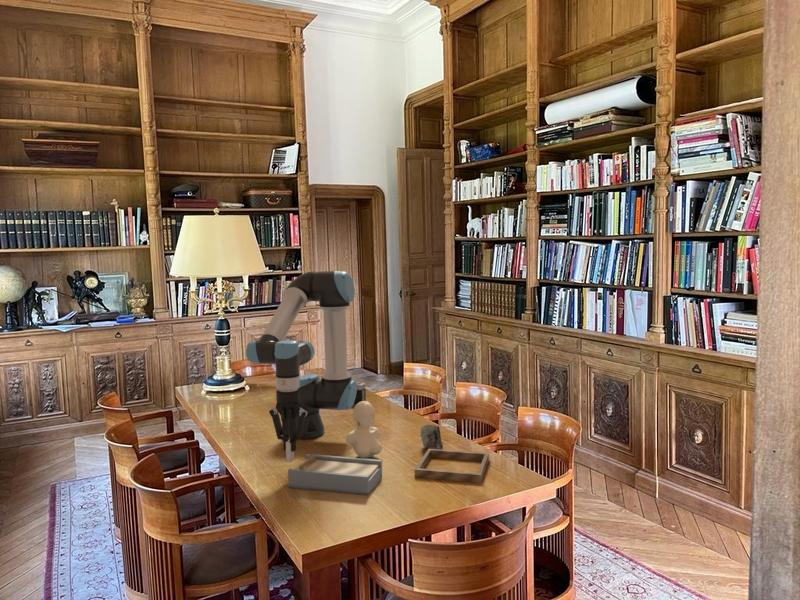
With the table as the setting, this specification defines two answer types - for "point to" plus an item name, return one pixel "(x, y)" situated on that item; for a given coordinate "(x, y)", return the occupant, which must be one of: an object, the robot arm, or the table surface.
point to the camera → (360, 393)
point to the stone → (431, 437)
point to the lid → (338, 467)
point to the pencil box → (335, 477)
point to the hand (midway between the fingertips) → (290, 460)
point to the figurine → (364, 431)
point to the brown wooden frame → (452, 474)
